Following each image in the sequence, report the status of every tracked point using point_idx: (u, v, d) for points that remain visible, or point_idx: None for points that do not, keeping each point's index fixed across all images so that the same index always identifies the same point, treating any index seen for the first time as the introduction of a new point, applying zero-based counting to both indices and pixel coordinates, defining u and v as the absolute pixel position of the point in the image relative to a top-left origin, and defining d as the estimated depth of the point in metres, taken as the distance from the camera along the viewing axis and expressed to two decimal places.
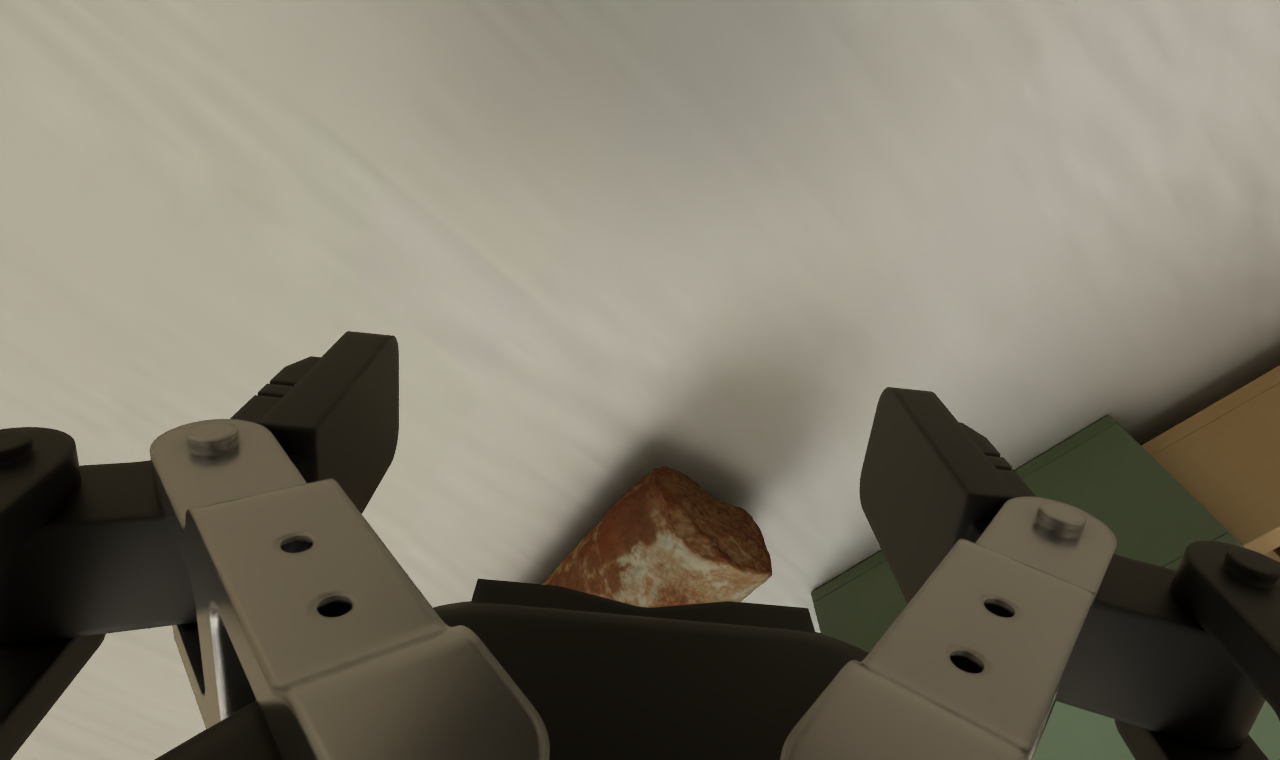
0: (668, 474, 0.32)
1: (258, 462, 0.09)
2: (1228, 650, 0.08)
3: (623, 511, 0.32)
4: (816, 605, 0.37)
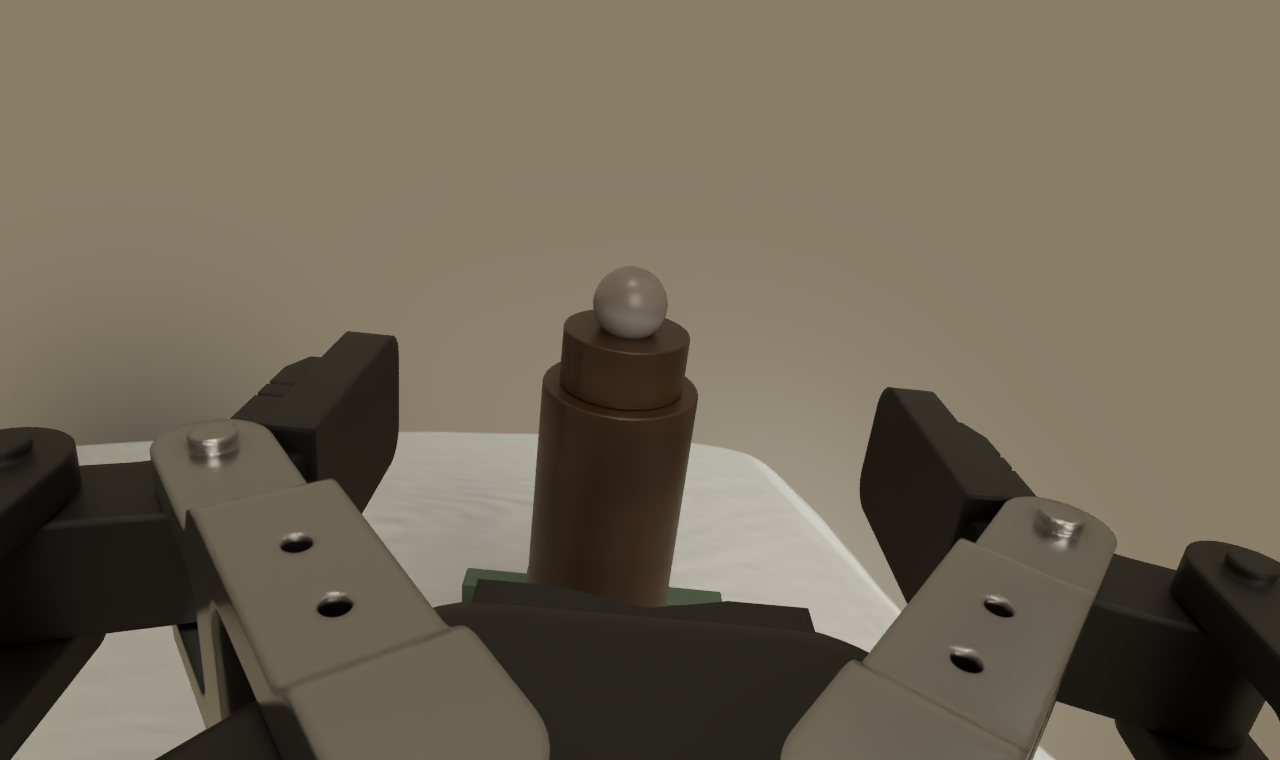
0: None
1: (258, 462, 0.09)
2: (1228, 650, 0.08)
3: None
4: None
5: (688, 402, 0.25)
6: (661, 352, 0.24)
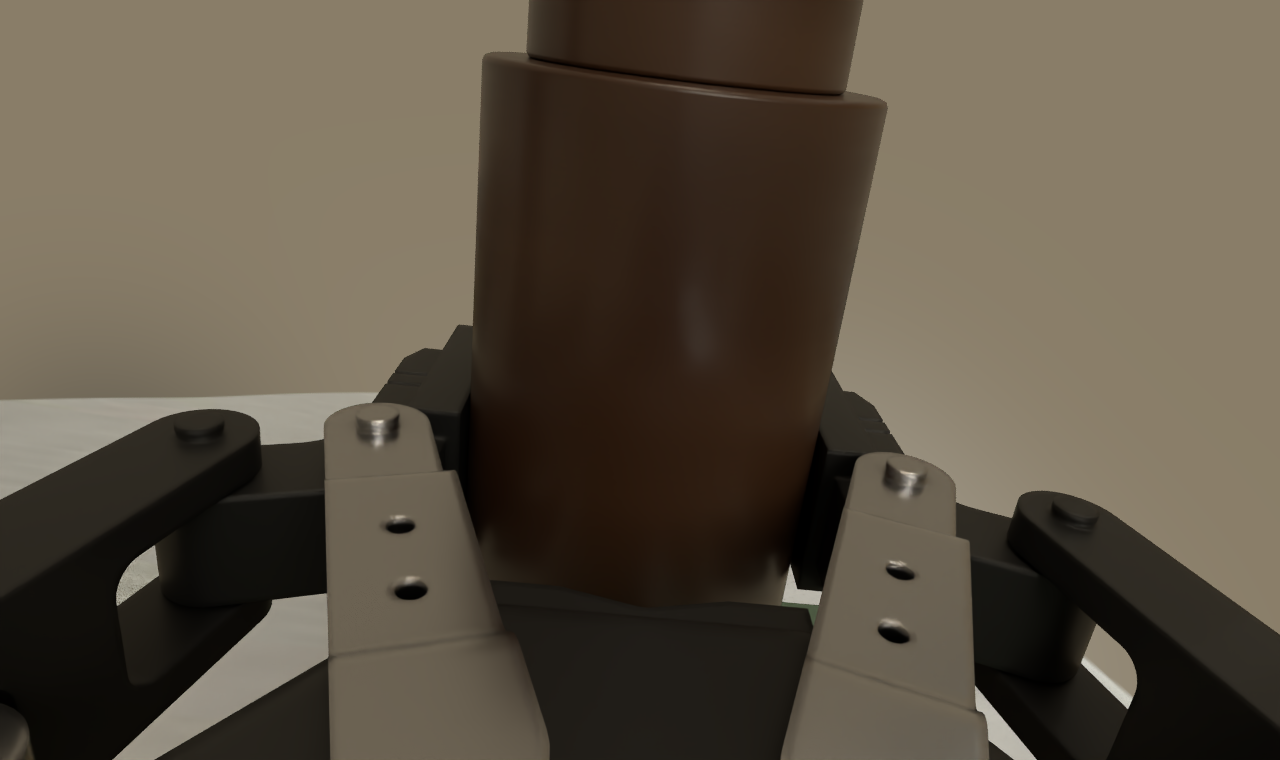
0: None
1: (408, 446, 0.09)
2: (1073, 596, 0.09)
3: None
4: None
5: (872, 99, 0.09)
6: None
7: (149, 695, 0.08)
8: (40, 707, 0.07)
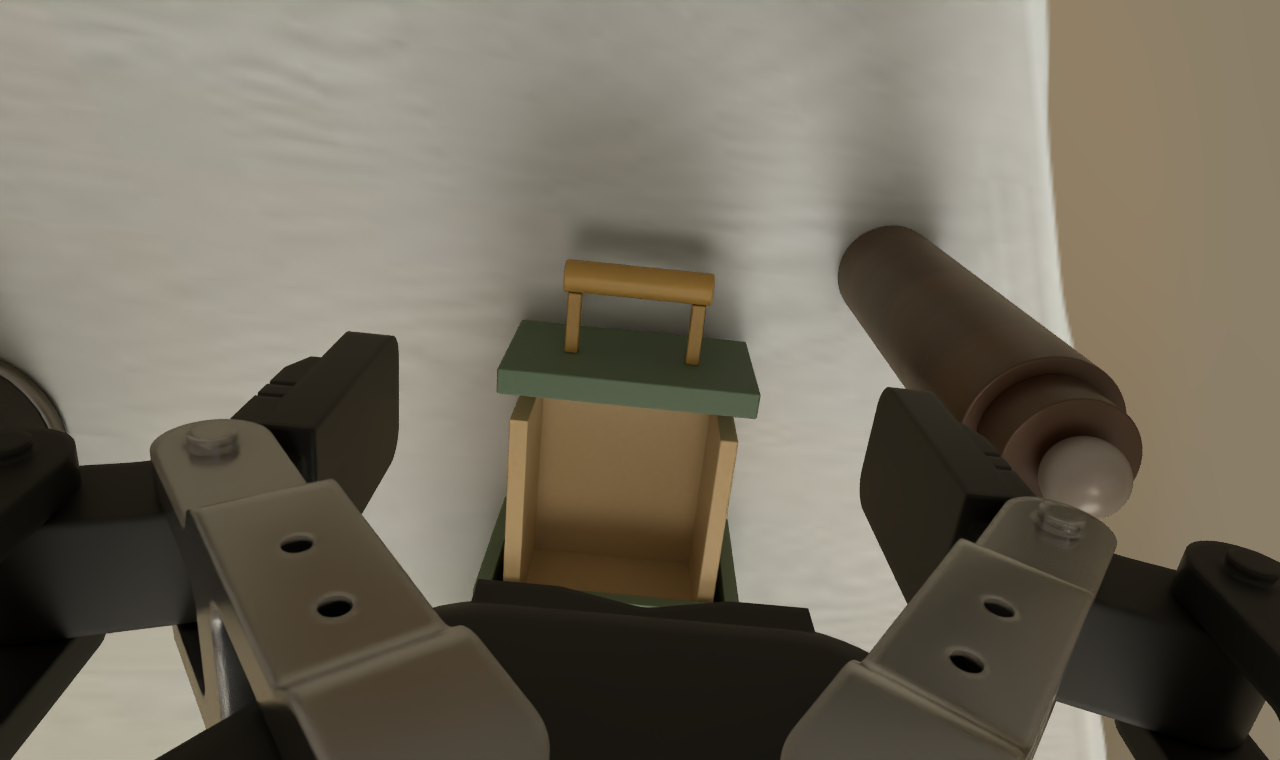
0: None
1: (258, 462, 0.09)
2: (1229, 650, 0.08)
3: None
4: None
5: None
6: None
7: None
8: None
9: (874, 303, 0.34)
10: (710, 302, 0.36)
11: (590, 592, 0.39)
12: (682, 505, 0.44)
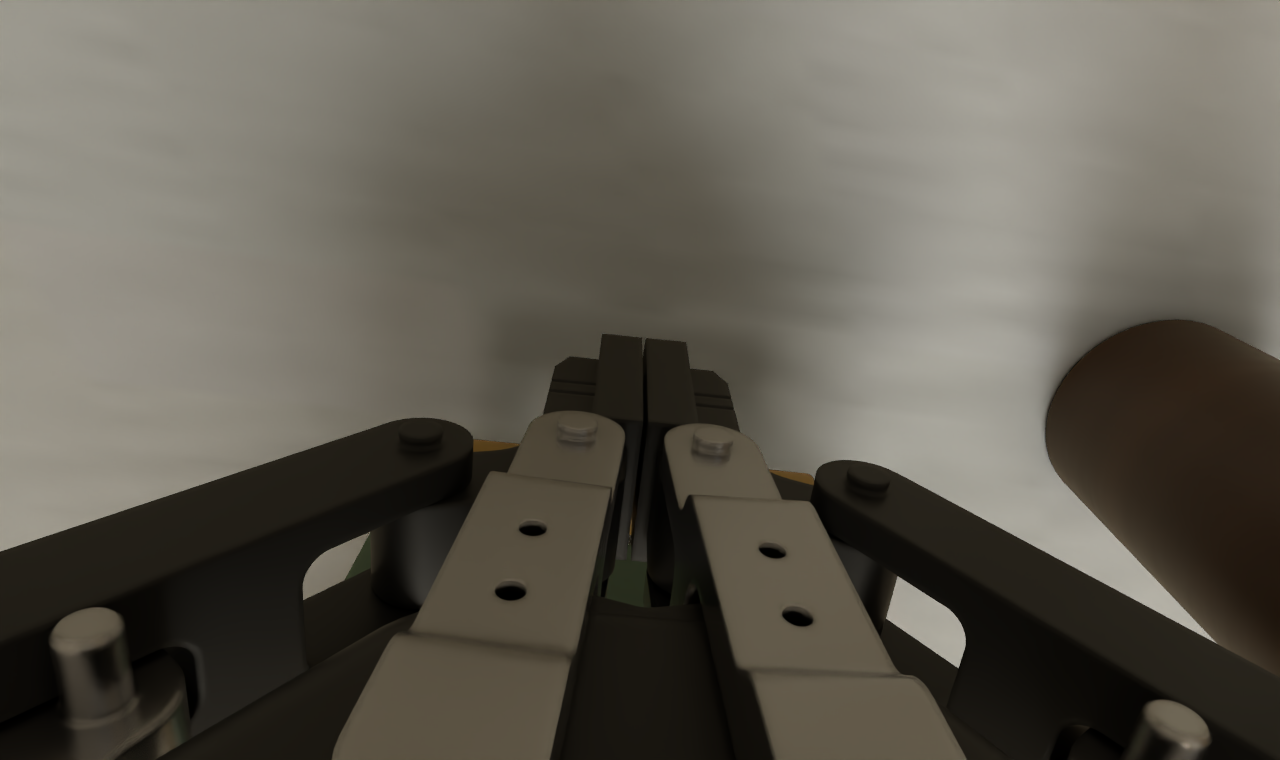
0: None
1: (594, 457, 0.10)
2: (890, 565, 0.09)
3: None
4: None
5: None
6: None
7: None
8: (218, 670, 0.08)
9: (1269, 573, 0.13)
10: None
11: None
12: None
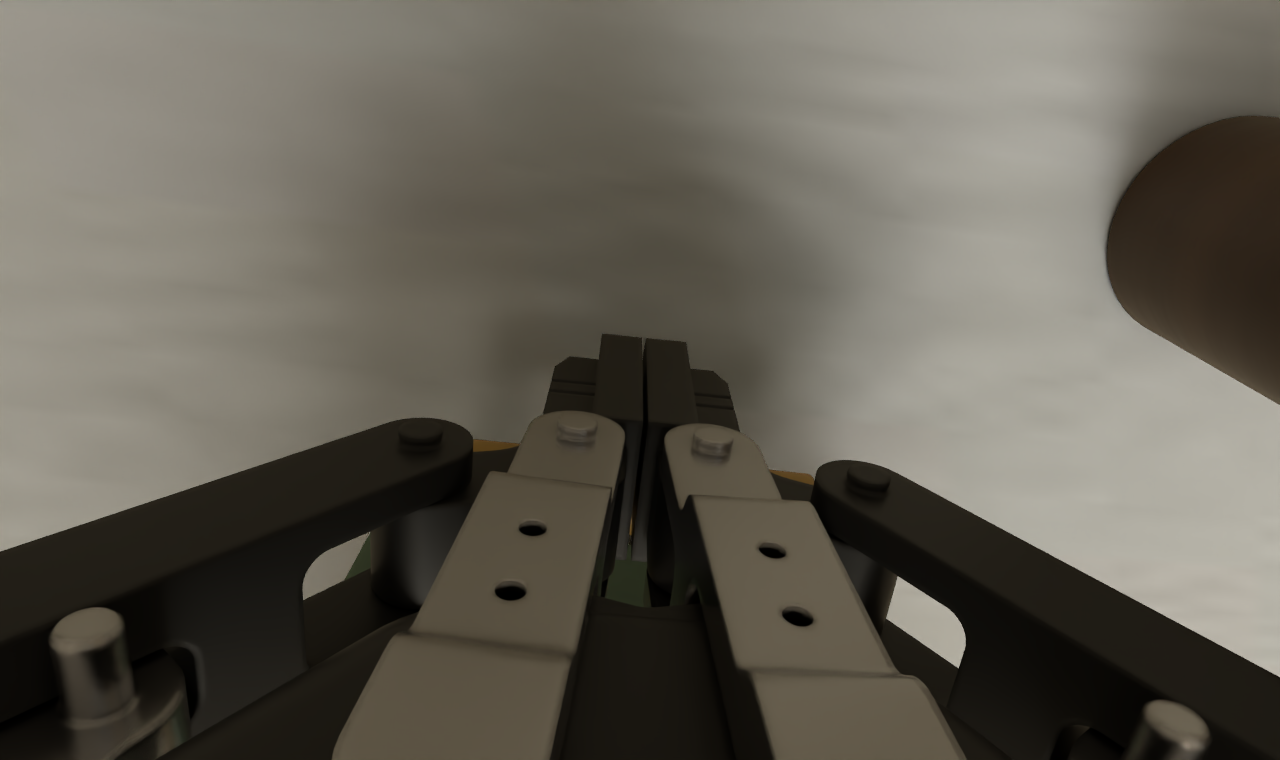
0: None
1: (594, 457, 0.10)
2: (890, 566, 0.09)
3: None
4: None
5: None
6: None
7: None
8: (218, 670, 0.08)
9: None
10: None
11: None
12: None
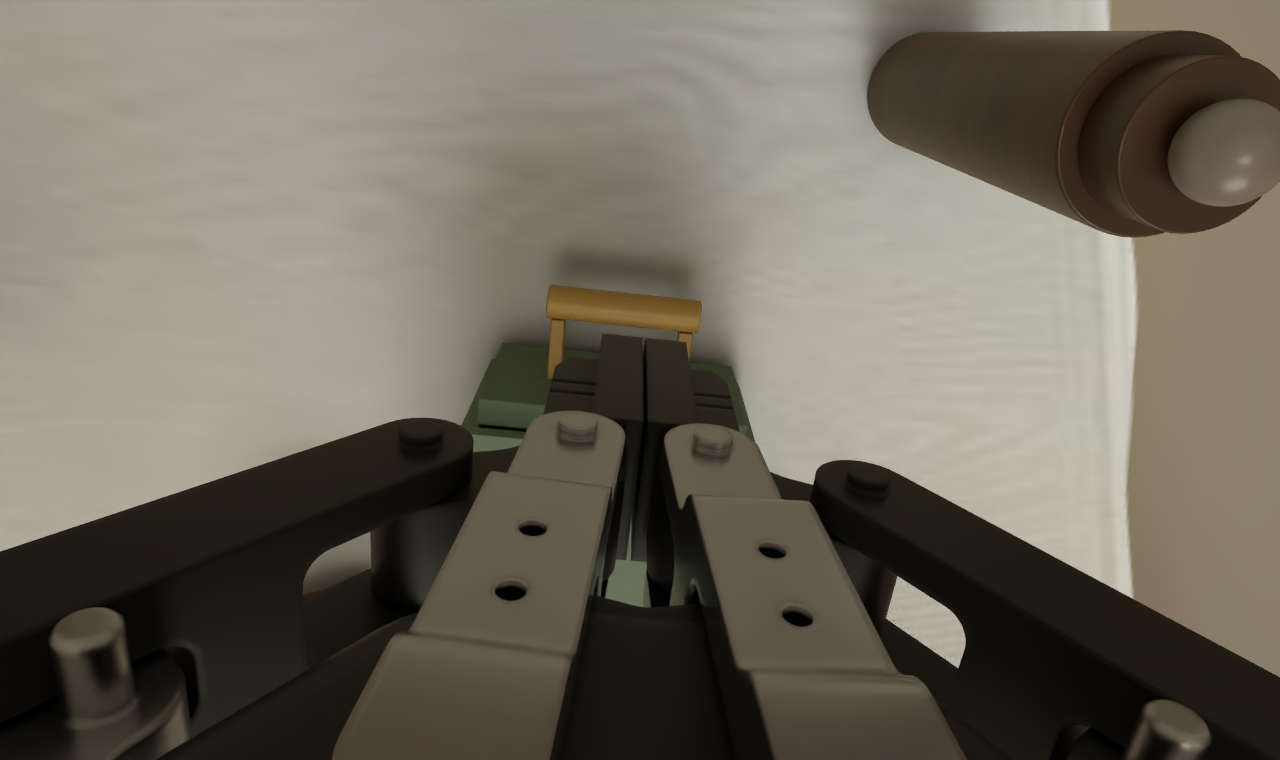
0: None
1: (594, 457, 0.10)
2: (890, 566, 0.09)
3: None
4: None
5: None
6: (1221, 223, 0.19)
7: None
8: (218, 670, 0.08)
9: (921, 84, 0.30)
10: (697, 330, 0.35)
11: None
12: None
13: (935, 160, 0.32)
